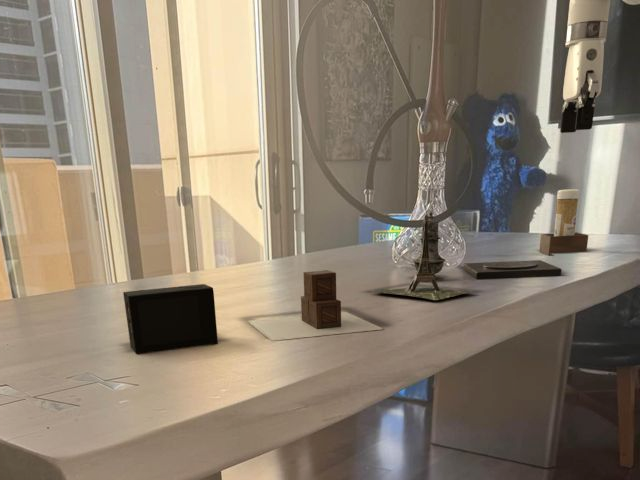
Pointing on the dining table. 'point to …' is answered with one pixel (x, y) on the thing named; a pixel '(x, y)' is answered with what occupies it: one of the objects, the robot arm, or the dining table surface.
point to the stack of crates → (315, 313)
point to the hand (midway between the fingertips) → (575, 131)
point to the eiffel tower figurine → (424, 278)
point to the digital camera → (171, 318)
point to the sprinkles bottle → (566, 212)
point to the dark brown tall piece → (431, 248)
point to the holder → (563, 243)
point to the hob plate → (511, 269)
